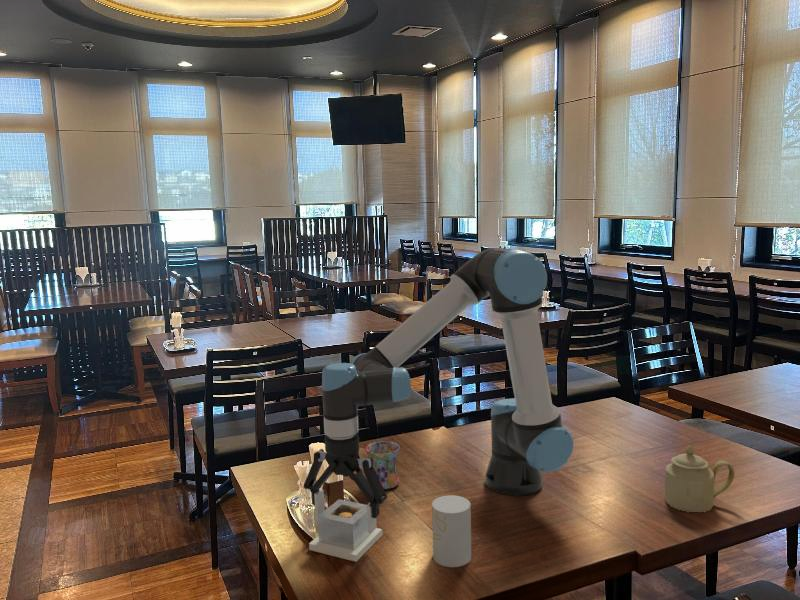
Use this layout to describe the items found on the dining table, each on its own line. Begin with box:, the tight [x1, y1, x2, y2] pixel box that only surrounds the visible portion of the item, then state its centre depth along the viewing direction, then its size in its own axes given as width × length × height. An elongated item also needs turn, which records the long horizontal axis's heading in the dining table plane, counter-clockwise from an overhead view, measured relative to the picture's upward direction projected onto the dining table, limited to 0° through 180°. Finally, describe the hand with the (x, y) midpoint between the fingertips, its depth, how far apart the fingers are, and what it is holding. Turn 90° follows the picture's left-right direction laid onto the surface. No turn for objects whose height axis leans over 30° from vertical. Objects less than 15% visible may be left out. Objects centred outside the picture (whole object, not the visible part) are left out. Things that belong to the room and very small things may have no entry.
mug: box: [365, 440, 401, 490], centre depth 173 cm, size 12×9×11 cm
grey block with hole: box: [317, 498, 371, 550], centre depth 143 cm, size 9×9×6 cm
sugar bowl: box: [664, 444, 735, 513], centre depth 157 cm, size 15×11×15 cm
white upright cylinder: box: [431, 494, 472, 568], centre depth 136 cm, size 8×8×12 cm
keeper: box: [308, 512, 383, 563], centre depth 143 cm, size 12×12×6 cm
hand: (345, 524), depth 143 cm, fingers open, 13 cm apart
